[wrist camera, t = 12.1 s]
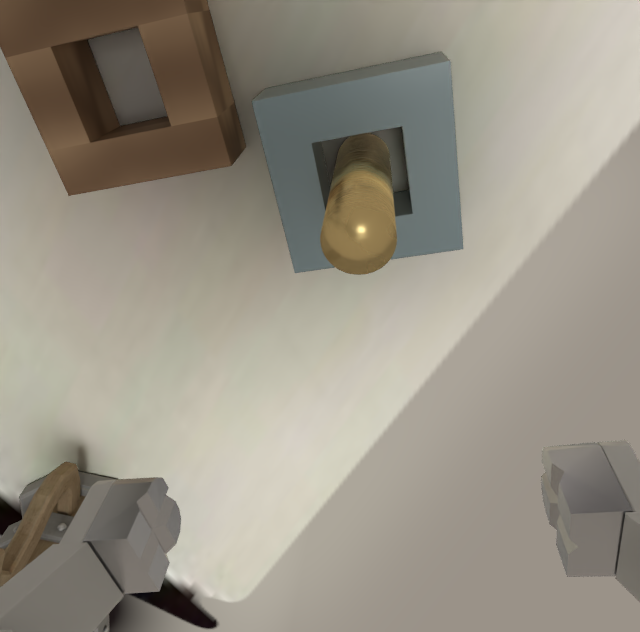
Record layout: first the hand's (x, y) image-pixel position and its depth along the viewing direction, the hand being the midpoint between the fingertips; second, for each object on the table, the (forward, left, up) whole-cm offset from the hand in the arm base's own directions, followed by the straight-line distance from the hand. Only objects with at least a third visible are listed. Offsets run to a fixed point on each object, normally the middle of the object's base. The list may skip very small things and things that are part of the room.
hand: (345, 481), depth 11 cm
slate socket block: (0, 0, -25) cm, 25 cm away
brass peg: (0, 0, -25) cm, 25 cm away
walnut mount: (-7, -12, -25) cm, 28 cm away
